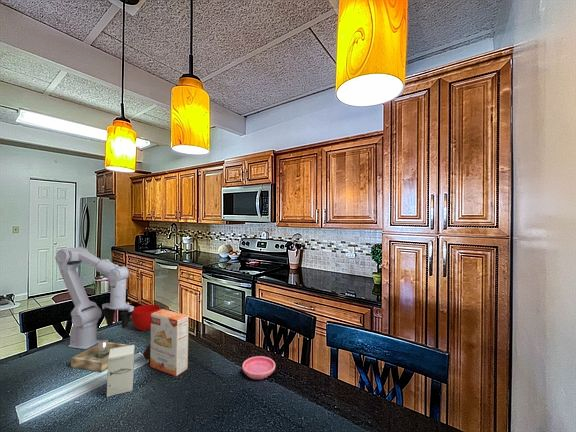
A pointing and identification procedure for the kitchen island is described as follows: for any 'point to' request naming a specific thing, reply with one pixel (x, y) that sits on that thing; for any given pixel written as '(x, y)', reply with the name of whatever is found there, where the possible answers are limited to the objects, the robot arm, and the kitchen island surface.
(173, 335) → the cracker box
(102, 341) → the peg
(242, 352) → the kitchen island surface
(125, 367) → the supplement box
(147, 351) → the bolt
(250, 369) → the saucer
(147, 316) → the red bowl
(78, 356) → the open box
